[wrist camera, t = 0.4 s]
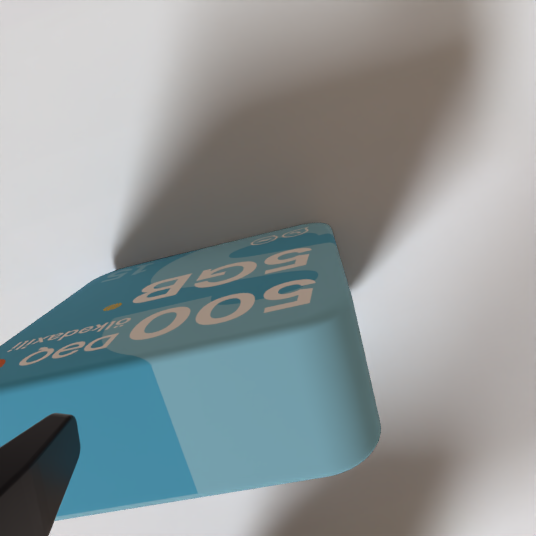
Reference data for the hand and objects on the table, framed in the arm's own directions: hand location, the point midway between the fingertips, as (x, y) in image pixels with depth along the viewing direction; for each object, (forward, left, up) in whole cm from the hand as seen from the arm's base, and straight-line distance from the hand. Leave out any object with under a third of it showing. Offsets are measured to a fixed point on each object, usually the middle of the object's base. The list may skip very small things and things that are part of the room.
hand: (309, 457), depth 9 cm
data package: (-1, +4, -15) cm, 16 cm away
